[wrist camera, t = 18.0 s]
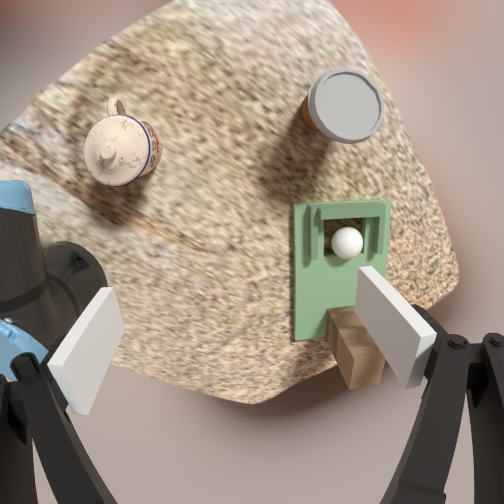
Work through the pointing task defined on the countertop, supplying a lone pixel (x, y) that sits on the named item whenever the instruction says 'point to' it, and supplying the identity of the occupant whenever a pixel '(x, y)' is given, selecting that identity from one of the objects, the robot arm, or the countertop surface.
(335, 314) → the walnut block
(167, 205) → the countertop surface
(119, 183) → the teacup with lid
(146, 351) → the countertop surface
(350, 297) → the pad
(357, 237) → the ball
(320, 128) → the disposable coffee cup
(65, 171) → the countertop surface
